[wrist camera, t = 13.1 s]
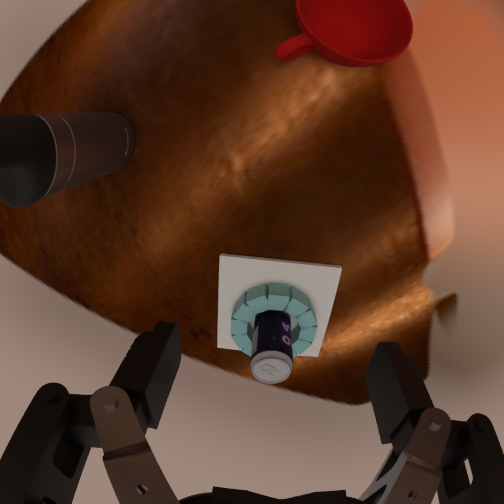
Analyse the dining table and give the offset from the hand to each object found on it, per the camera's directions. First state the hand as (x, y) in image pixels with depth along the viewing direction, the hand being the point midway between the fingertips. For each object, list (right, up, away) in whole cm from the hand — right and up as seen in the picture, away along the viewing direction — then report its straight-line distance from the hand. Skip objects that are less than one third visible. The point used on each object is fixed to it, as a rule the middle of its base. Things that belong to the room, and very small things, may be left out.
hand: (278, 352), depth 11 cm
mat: (+3, -5, +35) cm, 36 cm away
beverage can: (+2, -6, +35) cm, 36 cm away
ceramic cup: (+9, +32, +19) cm, 38 cm away
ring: (+2, -7, +35) cm, 36 cm away
